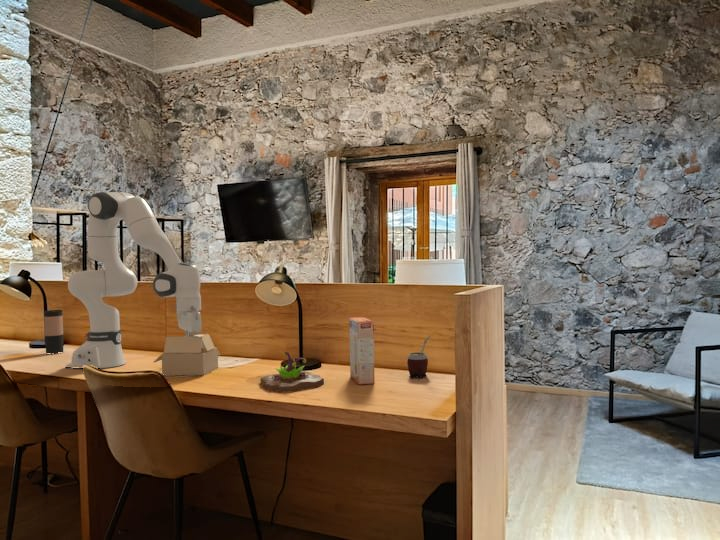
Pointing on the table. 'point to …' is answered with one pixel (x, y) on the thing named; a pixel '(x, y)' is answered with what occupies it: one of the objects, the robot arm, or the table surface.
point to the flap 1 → (183, 345)
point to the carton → (189, 362)
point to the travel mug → (53, 331)
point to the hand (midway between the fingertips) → (190, 342)
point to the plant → (291, 378)
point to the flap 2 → (207, 342)
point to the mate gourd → (418, 363)
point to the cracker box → (362, 350)
